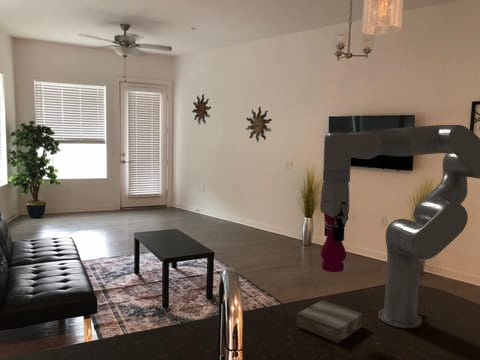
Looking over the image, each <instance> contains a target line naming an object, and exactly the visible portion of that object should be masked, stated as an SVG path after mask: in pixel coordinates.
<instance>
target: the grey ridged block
mask: <svg viewBox="0 0 480 360" xmlns="http://www.w3.org/2000/svg"><path fill="white" fill-rule="evenodd" d="M363 315H364V314H363V313H361V312H358V311H356V310H354V309H353V310H352V309H350V308H346V307H344V306H341V305H338V304H335V303H332V302H329V301H325V300H323V299H322V300H319V301H318V302H316V303H314V304H312V305H310V306H308V307H306V308H305V309H302V310H300V311H298V312H297V313H296V325H295V326H296V327H297V328H300V329H303V330H305V331H307V332H310V333H313V334H314V335H317V336H320V337H322V338H324V339H327V340H329V341H332V342H334V343H337V344H339V343H341V342H342V341H344V340H345V339H346V338H348V337H349V336H352V334H354V333H355V332H357V331H358V330H359V329H361V328H363V320H364V319H363V318H364V317H363Z"/></svg>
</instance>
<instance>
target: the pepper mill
mask: <svg viewBox="0 0 480 360" xmlns="http://www.w3.org/2000/svg"><path fill="white" fill-rule="evenodd" d="M338 216H342V215H341V214H338ZM323 217H324V219H325V220H326V221H327V223H326V222H325V223H326V229H327V236H326V239H325V241H324V243H323V245H322V248H321V251H320V256H321V259H322V260H323V261H322V262H321V269H322V270H323V271H325V272H329V273H341V272H344V268H345V264H344V263H343V261H345V260H346V257H347V252H346V248H345V246H344V244H343V241H333V227H335V225H334V217H330V216H329V215H327V213H325V214H324V213H323ZM340 219H341V218H338V221H339V220H340Z"/></svg>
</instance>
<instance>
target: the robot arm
mask: <svg viewBox="0 0 480 360" xmlns="http://www.w3.org/2000/svg"><path fill="white" fill-rule="evenodd" d="M323 143H324V146H323V147H324V149H323V170H322V172H323V173H322V187H321V193H320V205H319V206H320V207H319V210H320V212H321V213H322V214H323V215H324V214H325V213H327V215H329V216H330V217H334V225H335V227H333V241H342V242H343V241H344V240H345V228H346V224H347V222H348V221H349V212H350V182H351V162H352V161H351V160H352V158H355V159H360V160H361V159H363V160H369V159H370V160H371V159H373V158H375V157H377V156H390V157H410V156H411V157H412V156H422V155H434V154H444V157H443V160H442V178H441V181H440V182H439V184H437V186H436V187H435V188H434V189H433V190H432V191H430V192H429V193H428V194H427V195H426V196H425V197H424V198H423V199H422V200H421V201H419V202H418V204H416V206H415V208H414V209H413V218H414V221H413V220H410V219H405V218H398V219H394V220H393V221H391V222H390V223H389V225H388V226H387V228H386V230H385V244H386V253H387V255H386V257H387V258H386V259H387V260H386V274H385V288H384V289H385V290H384V300H383V301H384V304H383V308H381V309H380V310H378V315H377V316H378V319H379V320H381V322H383V323H385V324H387V325H389V326H392V327H396V328H401V329H414V328H415V329H416V328H418V327H420V326H421V325H422V322H423V320H422V317H421V316H420V315H419V314H418V313H417V312H418V306H419V300H418V299H419V287H420V274H421V261H420V260H423V261H424V260H430V259H433V258H435V257H436V256H439V254H440V253H441V252H442V251H443V250H445V249H446V248H447V246H449V245H450V244H451V243H452V242H453V241H454V240H456V238H457V237H458V236H459V235H460V234H461V233H462V232H463V231H464V230H465V228H466V226H467V223H468V216H469V215H468V211H467V209H466V208H465V206H463V205H462V203H463V202H464V201H465V200H466V198H467V196H468V178H472V179H480V137H479V136H478V135H477V134H476V133H474V131H472V130H471V129H470V128H468V127H467V126H464V125H463V124H440V125H439V124H436V125H422V126H421V125H420V126H408V127H405V126H404V127H396V128H389V129H381V130H367V131H366V130H365V131H352V132H351V131H350V132H348V133H347V132H329V133H326V135H324V142H323ZM338 214H341V215H342V216H338ZM338 218H341V219H340V220H339V221H338ZM323 220H324V236H325V237H327V229H326V223H327V221H326V220H325V218H324V219H323Z"/></svg>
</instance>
